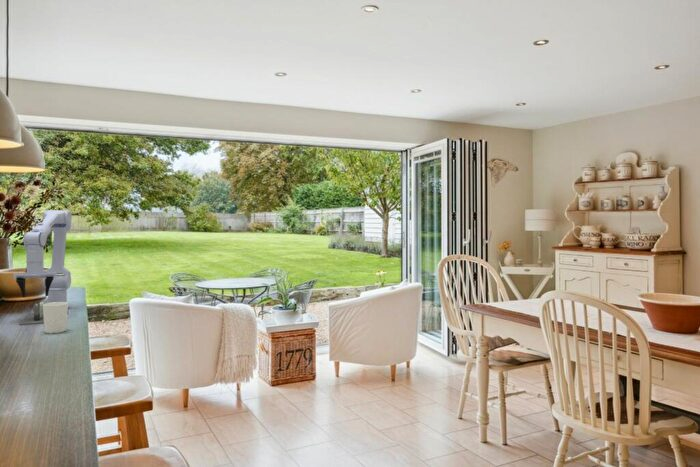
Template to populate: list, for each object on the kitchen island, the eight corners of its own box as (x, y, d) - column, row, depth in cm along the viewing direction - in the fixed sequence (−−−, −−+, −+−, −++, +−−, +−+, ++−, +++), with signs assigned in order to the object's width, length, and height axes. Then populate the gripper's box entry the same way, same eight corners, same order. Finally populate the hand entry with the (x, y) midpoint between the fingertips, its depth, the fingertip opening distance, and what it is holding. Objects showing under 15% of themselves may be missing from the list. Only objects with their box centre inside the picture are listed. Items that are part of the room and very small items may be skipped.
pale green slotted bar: (41, 312, 211) (41, 301, 211) (45, 312, 212) (45, 301, 211) (35, 318, 199) (35, 307, 198) (39, 318, 199) (39, 306, 199)
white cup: (72, 329, 185) (72, 302, 185) (58, 334, 178) (58, 306, 177) (53, 328, 186) (52, 301, 186) (37, 333, 178) (37, 305, 178)
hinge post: (34, 321, 198) (34, 303, 198) (40, 320, 199) (40, 303, 199) (33, 322, 196) (33, 304, 196) (39, 321, 197) (39, 304, 197)
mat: (30, 314, 211) (30, 313, 211) (68, 312, 217) (68, 311, 217) (19, 325, 191) (19, 323, 191) (61, 322, 197) (61, 321, 197)
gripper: (11, 263, 192) (11, 298, 193) (54, 262, 198) (55, 296, 199) (14, 261, 199) (15, 296, 199) (57, 260, 205) (57, 294, 205)
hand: (35, 296), depth 199 cm, fingers open, 7 cm apart
